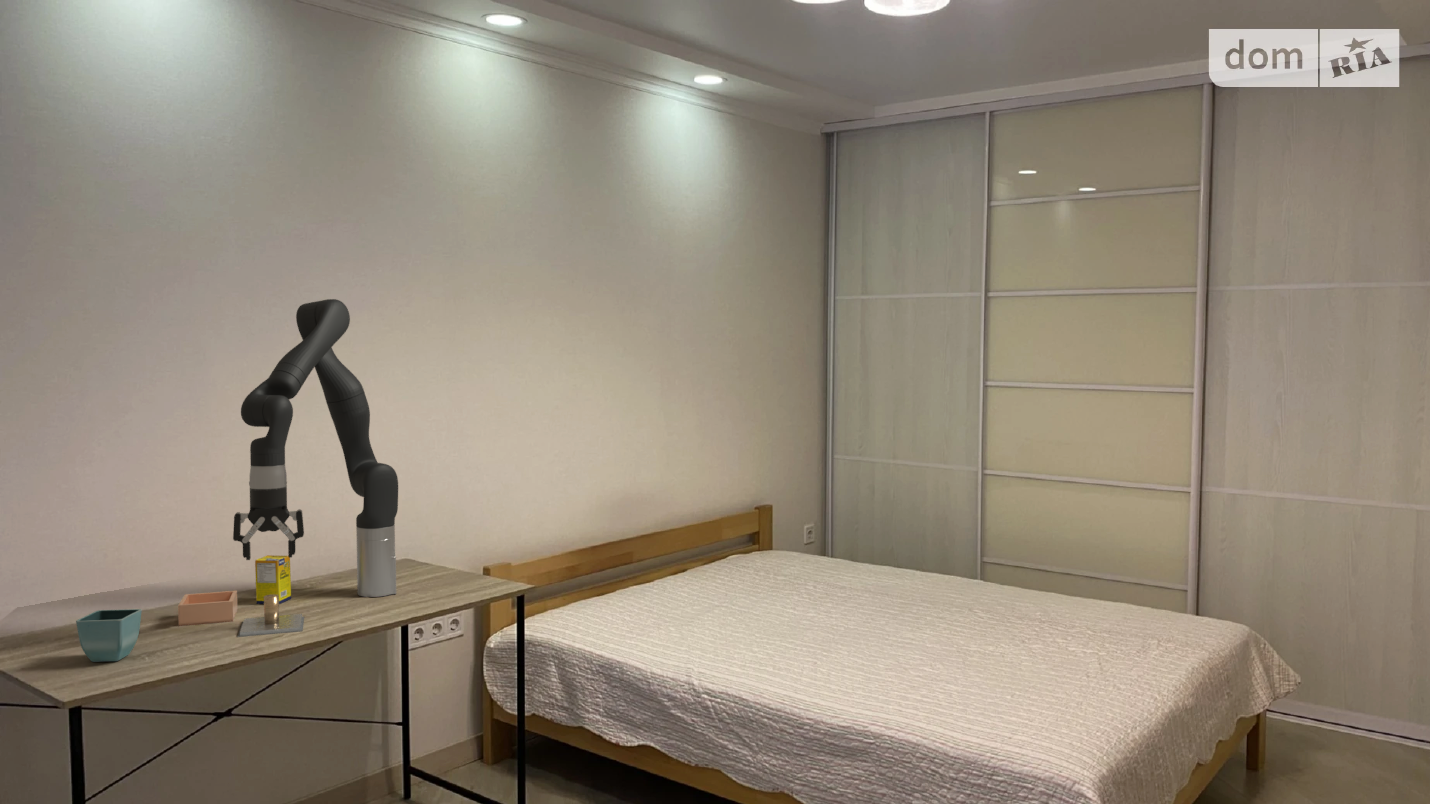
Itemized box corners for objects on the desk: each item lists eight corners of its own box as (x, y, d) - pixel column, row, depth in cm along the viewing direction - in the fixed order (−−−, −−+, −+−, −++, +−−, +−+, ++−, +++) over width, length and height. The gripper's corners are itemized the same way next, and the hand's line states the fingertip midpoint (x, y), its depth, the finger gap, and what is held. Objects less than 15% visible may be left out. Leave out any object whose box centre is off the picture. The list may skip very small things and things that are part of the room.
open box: (237, 611, 243) (237, 590, 242) (233, 623, 232) (232, 601, 232) (185, 615, 239) (185, 594, 239) (178, 627, 229) (178, 605, 228)
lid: (302, 617, 236) (301, 587, 236) (300, 630, 225) (299, 600, 224) (244, 622, 232) (243, 592, 231) (239, 636, 221) (239, 604, 220)
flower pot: (99, 652, 210) (97, 609, 210) (144, 651, 211) (142, 608, 210) (76, 666, 201) (74, 620, 201) (123, 664, 202) (121, 619, 202)
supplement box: (291, 598, 255) (290, 555, 254) (279, 604, 249) (278, 560, 248) (268, 598, 256) (267, 554, 255) (255, 604, 250) (254, 559, 249)
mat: (304, 618, 237) (304, 616, 237) (302, 632, 224) (302, 631, 224) (242, 623, 232) (242, 621, 232) (237, 638, 220) (237, 636, 220)
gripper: (303, 482, 233) (304, 553, 233) (234, 484, 228) (235, 557, 229) (302, 486, 226) (303, 559, 226) (230, 488, 221) (232, 563, 222)
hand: (269, 558), depth 227 cm, fingers open, 8 cm apart
